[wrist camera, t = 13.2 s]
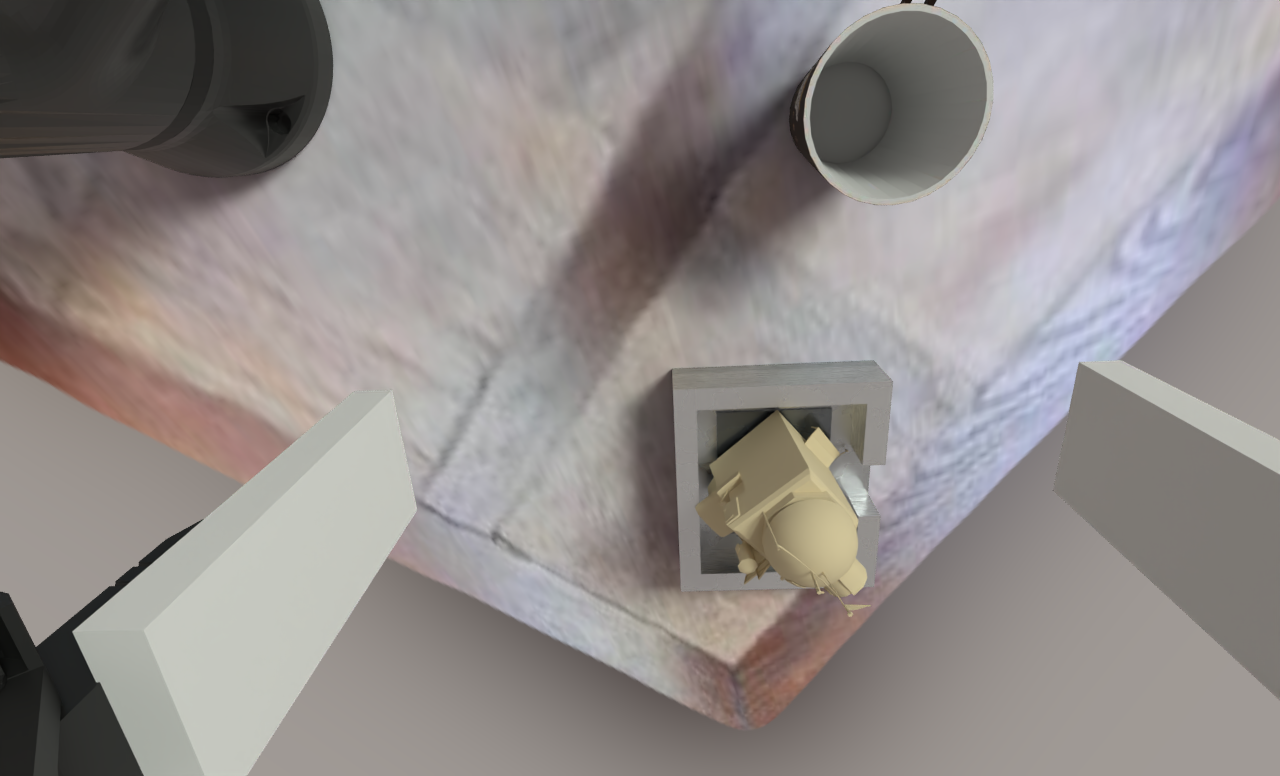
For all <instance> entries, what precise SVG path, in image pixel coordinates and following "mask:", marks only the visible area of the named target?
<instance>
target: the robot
mask: <svg viewBox="0 0 1280 776" xmlns="http://www.w3.org/2000/svg"><path fill="white" fill-rule="evenodd" d="M811 428H814V429H816V430H815V431H814V432H813V433H812V434H811V435H810V437H809V438H808V439H807V441H806V440H805V439H804V438H803V437H802V436H801V435H800V434H799V433H798V431H797V430H796V429H795V428H794V427H793V426H792V425H791V424H790V423H789V422H788V421H787V420H786V419H785V417H784V416H783V415H782V414H781V413H780V412H779V411H778V410H776V411H775V412H774V413H772V414H771V415H770V416H769V417H768V418H766V419H765V420H764V421H763V422H761V423H760V424H759V425H758V426H757V427H755V428H754V429H753V430H752V431H751V432H749V433H748V434H747V435H746V436H744V437H743V438H742V439H741V440H740V441H738V442H737V443H736V444H735V445H733V446H732V447H731V448H730V449H729V450H727V451H726V452H725V453H724V454H723V455H721V456H720V457H719V458H718V459H716V460H715V461H714V462H713V463H712V464H710V465H709V466H710V469H711V471H712V474H713V476H714V478H713V479H712V481H711V482H710V484H709V486H708V494H709V496H707V497H706V498H705V499H704V500H702V501H701V502H700V503H699V504H697V506H696V507H695V509H696V511H697V513H698V515H699V516H700V517H701V518H702V519H703V520H704V521H705V523H706V524H707V525H708V526H709V527H710V528H711V529H712V530H713V531H715V532H716V533H717V534H718V535H719V536H720V537H725V536H727V535H729V534H730V533H732V532H735V533H736V534H737V535H738V536H739V537H740V539H741V540H742V541H743V542H742V544H740V545H739V543H737V545H736V547H735V550H736V553H737V556H738V558H739V565H738V568H739V570H740V572H742V573H745V574H747V575H746V576H745V580H744V584H746V583H748V582H749V581H750V580H751V579H753V578H754V577H755V576H758V579H759V580H760V578H761V577H762V576H763V574H764V573H765V572H766V570H767V569H768V568H769V566H770V565H771V566H772V567H773V568H774V570H775V571H776V572H777V573H778V574H779V575H780V576H781V577H780V579H781V580H786V581H787V582H789V583H791V584H793V585H795V586H797V587H801V586H802V587H801V588H805V587H808V588H816V592H817V593H818V594H820V593H824V592H821V591H820V587H824V588H825V589H826V590H827V591H828V592H829V593H830V594H831V595H832V594H833V595H834V596H837V597H838V598H839V599H840V597H845V596H848V595H849V594H851V593H852V594H853V595H855V594H856V593H857V592H858V591H860V590H861V589H862V588H863V587H864V585H865V582H866V580H867V573H866V569H865V568H864V567H863V565H862V564H861V563H860V562H859V561H858V560H857V559H856V555H857V550H858V537H857V531H856V529H857V526H858V518H857V516H856V515H855V513H854V511H853V510H852V508H851V506H850V504H849V503H848V501H847V499H846V497H845V496H844V494H843V492H842V490H841V489H840V487H839V485H838V483H837V482H836V480H835V478H834V476H833V475H832V473H831V471H830V470H829V466H830V465H831V463H832V462H833V461H834V459H835V458H836V457H837V456H838V455H839V456H840V453H839V452H838V450H837V449H836V448H835V447H834V445H833V444H832V443H831V442H830V440H829V439H828V438H827V437H826V436H825V434H824V433H823V432H822V431H821V429H820V428H819V427H813V426H812V427H811ZM845 452H848V450H846V449H845ZM845 452H843V453H845ZM843 453H842V454H843ZM842 454H841V455H842ZM839 456H838V457H839ZM838 457H837V458H838ZM840 601H841V599H840ZM841 603H842V604H843V602H842V601H841ZM843 606H844V607H845V606H846V607H845V609H846V610H847V609H848V610H857V609H860V608H864V607H868V606H871V605H844V604H843ZM848 610H847V612H848V613H847V614H848V616H850V617H851V616H853V613H852V612H851V611H850V612H849V611H848Z"/></svg>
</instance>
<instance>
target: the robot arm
mask: <svg viewBox="0 0 1280 776" xmlns="http://www.w3.org/2000/svg"><path fill="white" fill-rule="evenodd" d="M332 79H333V55H332V45H331V39H330V34H329V30H328V25H327V22H326V19H325V15H324V12H323V9H322V7H321V4H320V2H319V0H0V158H11V157H28V156H44V155H60V154H77V153H93V152H109V151H124V152H127V153H129V154H132V155H135V156H137V157H140V158H143V159H145V160H148V161H151V162H153V163H156V164H159V165H161V166H164V167H166V168H169V169H172V170H175V171H178V172H182V173H186V174H190V175H196V176H204V177H233V176H243V175H251V174H256V173H261V172H264V171H268V170H270V169H273V168H275V167H277V166H279V165H281V164H283V163H285V162H286V161H288V160H290V159H291V158H292V157H294V156H295V155H296V154H297V153H298V152H300V151H301V150H302V149H303V148H304V147H305V146H306V144H307V143H308V142H309V141H310V139H311V138H312V137H313V135H314V134H315V132H316V131H317V129H318V127H319V125H320V123H321V121H322V119H323V117H324V115H325V112H326V109H327V106H328V102H329V98H330V94H331V88H332ZM1053 491H1054V492H1055V493H1056V494H1057V495H1058V496H1059V497H1060V498H1062V499H1063V500H1064V501H1065V502H1066V503H1067V504H1068V505H1069V506H1070V507H1071V508H1072V509H1073V510H1075V511H1076V512H1077V513H1078V514H1079V515H1080V516H1081V517H1082V518H1083V519H1084V520H1085V521H1086V522H1088V523H1089V524H1090V525H1091V526H1092V527H1093V528H1094V529H1095V530H1096V531H1097V532H1098V533H1099V534H1101V535H1102V536H1103V537H1104V538H1105V539H1106V540H1107V541H1108V542H1109V543H1110V544H1111V545H1112V546H1113V547H1115V548H1116V549H1117V550H1118V551H1119V552H1120V553H1121V554H1122V555H1123V556H1124V557H1126V559H1128V560H1129V561H1130V562H1131V563H1132V564H1133V565H1134V566H1135V567H1136V568H1137V569H1138V570H1139V571H1140V572H1142V573H1143V574H1144V575H1145V576H1146V577H1147V578H1148V579H1149V580H1150V581H1151V582H1152V583H1153V584H1155V585H1156V586H1157V587H1158V588H1159V589H1160V590H1161V591H1162V592H1163V593H1164V594H1165V595H1166V596H1168V597H1169V598H1170V599H1171V600H1172V601H1173V602H1174V603H1175V604H1176V605H1177V606H1178V607H1179V608H1180V609H1182V610H1183V611H1184V612H1185V613H1186V614H1187V615H1188V616H1189V617H1190V618H1191V619H1192V620H1193V621H1195V622H1196V623H1197V624H1198V625H1199V626H1200V627H1201V628H1202V629H1203V630H1205V632H1206V633H1208V634H1209V635H1210V636H1211V637H1212V638H1213V639H1214V640H1215V641H1216V642H1217V643H1218V644H1220V646H1222V647H1223V648H1224V649H1225V650H1226V651H1227V652H1228V653H1229V654H1230V655H1232V657H1233V658H1235V659H1236V660H1237V661H1238V662H1239V663H1240V664H1241V665H1242V666H1243V667H1244V668H1245V669H1246V670H1248V671H1249V672H1250V673H1251V674H1252V675H1253V676H1254V677H1255V678H1256V679H1257V680H1258V681H1259V682H1260V683H1262V684H1263V685H1264V686H1265V687H1266V688H1267V689H1268V690H1269V691H1270V692H1271V693H1272V694H1274V695H1275V696H1276V697H1277V698H1278V699H1279V700H1280V440H1278V439H1276V438H1274V437H1272V436H1270V435H1268V434H1266V433H1264V432H1262V431H1260V430H1258V429H1256V428H1254V427H1252V426H1250V425H1248V424H1246V423H1244V422H1242V421H1240V420H1238V419H1236V418H1235V417H1233V416H1230V415H1229V414H1227V413H1224V412H1223V411H1221V410H1218V409H1217V408H1215V407H1212V406H1211V405H1209V404H1207V403H1205V402H1203V401H1201V400H1199V399H1197V398H1194V397H1193V396H1191V395H1189V394H1187V393H1185V392H1183V391H1181V390H1179V389H1177V388H1175V387H1173V386H1171V385H1169V384H1167V383H1165V382H1163V381H1161V380H1159V379H1157V378H1155V377H1153V376H1151V375H1149V374H1147V373H1145V372H1143V371H1141V370H1139V369H1137V368H1135V367H1133V366H1131V365H1129V364H1127V363H1125V362H1123V361H1121V360H1120V361H1095V362H1079V364H1078V369H1077V374H1076V379H1075V384H1074V389H1073V394H1072V399H1071V404H1070V409H1069V414H1068V419H1067V424H1066V429H1065V434H1064V438H1063V444H1062V448H1061V453H1060V458H1059V463H1058V468H1057V473H1056V478H1055V483H1054V488H1053ZM416 511H417V507H416V503H415V498H414V493H413V488H412V483H411V479H410V474H409V469H408V464H407V460H406V455H405V450H404V445H403V440H402V436H401V431H400V426H399V421H398V417H397V412H396V407H395V402H394V397H393V393H392V390H377V391H354V392H353V393H352V394H350V395H349V396H348V397H347V398H346V399H345V400H343V401H342V402H341V403H340V404H339V405H337V406H336V407H335V408H334V409H333V410H332V411H330V412H329V413H328V414H327V415H326V416H325V417H323V418H322V419H321V420H320V421H319V422H318V423H316V424H315V425H314V426H313V427H312V428H310V429H309V430H308V431H307V432H306V433H305V434H303V435H302V436H301V437H300V438H299V439H298V440H296V441H295V442H294V443H293V444H292V445H291V446H289V447H288V448H287V449H286V450H285V451H284V452H282V453H281V454H280V455H279V456H278V457H276V458H275V459H274V460H273V461H272V462H271V463H269V464H268V465H267V466H266V467H265V468H264V469H262V470H261V471H260V472H259V473H258V474H257V475H255V476H254V477H253V478H252V479H251V480H250V481H248V482H247V483H246V484H245V485H244V486H242V487H241V488H240V489H239V490H238V491H237V492H235V493H234V494H233V495H232V496H231V497H230V498H228V499H227V500H226V501H225V502H224V503H223V504H221V505H220V506H219V507H218V508H217V509H216V510H214V511H213V512H212V513H211V514H210V515H209V516H207V517H206V518H205V519H203V520H201V521H199V522H197V523H195V524H193V525H192V526H190V527H188V528H186V529H184V530H182V531H181V532H179V533H177V534H175V535H173V536H171V537H170V538H168V539H166V540H165V541H164V542H162V543H161V544H160V545H159V546H158V547H156V548H155V549H154V550H153V551H152V552H150V553H149V554H148V555H147V556H146V557H144V558H143V559H142V560H141V561H140V562H139V566H138V567H132V568H131V569H130V570H129V571H127V572H126V573H125V574H124V575H123V576H122V577H120V578H119V579H118V580H117V581H116V584H115V586H109V587H108V588H107V589H106V590H105V591H103V592H102V593H101V594H100V595H99V596H97V597H96V598H95V599H94V600H92V601H91V602H90V603H89V604H88V605H86V606H85V607H84V608H83V609H82V610H80V611H79V612H78V613H77V614H76V615H74V616H73V617H72V618H71V619H69V620H68V621H67V622H66V623H65V624H63V625H62V626H61V627H60V628H59V629H57V630H56V631H55V632H54V633H53V634H51V635H50V636H49V637H48V638H47V639H45V640H44V641H43V642H42V643H41V644H39V645H38V646H37V647H35V645H34V643H33V641H32V639H31V637H30V635H29V633H28V631H27V629H26V627H25V625H24V623H23V621H22V619H21V617H20V616H19V613H18V611H17V609H16V607H15V605H14V603H13V601H12V600H11V597H10V595H9V594H8V593H3V592H0V776H247V775H248V773H249V772H250V770H251V768H252V767H253V765H254V764H255V762H256V760H257V759H258V758H259V756H260V754H261V753H262V751H263V750H264V748H265V747H266V745H267V743H268V742H269V740H270V739H271V737H272V736H273V734H274V732H275V731H276V729H277V728H278V726H279V725H280V723H281V722H282V720H283V718H284V717H285V715H286V714H287V712H288V711H289V709H290V708H291V706H292V705H293V703H294V701H295V700H296V698H297V696H298V695H299V694H300V692H301V691H302V689H303V687H304V686H305V684H306V683H307V681H308V680H309V678H310V676H311V675H312V673H313V672H314V670H315V669H316V667H317V666H318V664H319V662H320V661H321V659H322V658H323V656H324V655H325V653H326V652H327V650H328V648H329V647H330V645H331V644H332V642H333V641H334V639H335V638H336V636H337V634H338V633H339V631H340V630H341V628H342V627H343V625H344V623H345V622H346V620H347V619H348V617H349V616H350V614H351V613H352V611H353V609H354V608H355V606H356V605H357V603H358V602H359V600H360V598H361V597H362V595H363V594H364V592H365V590H366V589H367V588H368V586H369V584H370V583H371V581H372V580H373V578H374V577H375V575H376V574H377V572H378V571H379V569H380V567H381V565H382V564H383V563H384V561H385V560H386V558H387V556H388V555H389V553H390V552H391V550H392V549H393V547H394V546H395V544H396V542H397V541H398V539H399V538H400V536H401V535H402V533H403V532H404V530H405V528H406V527H407V525H408V524H409V522H410V521H411V519H412V518H413V516H414V514H415V513H416Z"/></svg>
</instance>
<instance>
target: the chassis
mask: <svg viewBox="0 0 1280 776" xmlns="http://www.w3.org/2000/svg"><path fill="white" fill-rule="evenodd" d="M672 381H673V406H674V431H675V456H676V481H677V506H678V531H679V556H680V581H681V591H722V590H763V589H803V588H801V587H802V586H801V587H797V586H795V585H793V584H791V583H789V582H787V581H786V580H781V579H780V577H781V576H780V575H779V574H778V573H777V572H776V571H775V570H774V568H773V567H772V566H771V565H770V566H769V568H768V569H767V570H766V572H765V573H764V574H763V576H762V577H761V578H760V580H759V579H758V576H755V577H754V578H753V579H751V580H750V581H749V582H748V583H746V584H744V580H745V576H746V575H747V574H745V573H742V572H740V570H739V568H738V565H739V558H738V556H737V553H736V550H735V547H736V545H737V543H739V545H740V544H742V542H743V541H742V540H741V539H740V537H739V536H738V535H737V534H736V533H735V532H732V533H730V534H729V535H727V536H725V537H720V536H719V535H718V534H717V533H716V532H715V531H713V530H712V529H711V528H710V527H709V526H708V525H707V524H706V523H705V521H704V520H703V519H702V518H701V517H700V516H699V515H698V513H697V511H696V509H695V507H696V506H697V504H699V503H700V502H701V501H702V500H704V499H705V498H706V497H707V496H709V494H708V486H709V484H710V482H711V481H712V479H713V478H714V476H713V474H712V471H711V469H710V466H709V465H710V464H712V463H713V462H714V461H715V460H716V459H718V458H719V457H720V456H721V455H723V454H724V453H725V452H726V451H727V450H729V449H730V448H731V447H732V446H733V445H735V444H736V443H737V442H738V441H740V440H741V439H742V438H743V437H744V436H746V435H747V434H748V433H749V432H751V431H752V430H753V429H754V428H755V427H757V426H758V425H759V424H760V423H761V422H763V421H764V420H765V419H766V418H768V417H769V416H770V415H771V414H772V413H774V412H775V411H776V410H778V411H779V412H780V413H781V414H782V415H783V416H784V417H785V419H786V420H787V421H788V422H789V423H790V424H791V425H792V426H793V427H794V428H795V429H796V430H797V431H798V433H799V434H800V435H801V436H802V437H803V438H804V439H805V440H806V441H807V439H808V438H809V437H810V435H811V434H812V433H813V432H814V431H815V430H816V429H814V428H811V427H812V426H813V427H819V428H820V429H821V431H822V432H823V433H824V434H825V436H826V437H827V438H828V439H829V440H830V442H831V443H832V444H833V445H834V447H835V448H836V449H837V450H838V452H839V453H840V456H839V455H838V456H839V457H838V456H837V457H838V458H837V457H836V458H835V459H834V461H833V462H832V463H831V465H830V466H829V470H830V471H831V473H832V475H833V476H834V478H835V480H836V482H837V483H838V485H839V487H840V489H841V490H842V492H843V494H844V496H845V497H846V499H847V501H848V503H849V504H850V506H851V508H852V510H853V511H854V513H855V515H856V516H857V518H858V526H857V529H856V531H857V537H858V550H857V555H856V559H857V560H858V561H859V562H860V563H861V564H862V565H863V567H864V568H865V569H866V573H867V580H866V582H865V585H864V587H874V581H875V570H876V559H877V549H878V538H879V527H880V514H879V512H878V511H877V509H876V507H875V505H874V503H873V502H872V500H871V498H870V496H869V495H868V486H869V474H870V465H885V462H886V452H887V441H888V430H889V419H890V408H891V398H892V387H893V381H892V380H891V378H890V377H889V376H888V375H887V374H886V373H885V372H884V371H883V370H882V369H881V368H880V366H879V365H878V364H877V363H876V362H875V361H851V362H827V363H803V364H779V365H755V366H730V367H706V368H682V369H672ZM845 449H846V450H848V452H845ZM843 452H845V453H843ZM842 453H843V454H842ZM841 454H842V455H841ZM805 588H808V587H805ZM820 588H824V587H820Z"/></svg>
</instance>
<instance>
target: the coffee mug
mask: <svg viewBox="0 0 1280 776" xmlns="http://www.w3.org/2000/svg"><path fill="white" fill-rule="evenodd" d="M911 1H912V0H902V1H901V3H900V4H898V5H893V6H888V7H884V8H881V9H879V10H877V11H874V12H872V13H870V14H868V15H865V16H863V17H862V18H861V19H859V20H858V21H856V22H855V23H853V24H852V25H850V26H849V27H848V28H846V29H845V30H844V31H843V32H842V33H841V34H840V35H839V36H838V37H837V38H836V39H835V40H834V41H833V42H832V43H831V45H830V46H829V47H828V48H827V50H826V51H825V52H824V54H823V55H822V56H821V57H820V59H819V60H818V61H817V62H816V64H815V65H814V66H813V67H812V69H811V70H810V71H809V72H808V74H807V75H806V76H805V77H804V79H803V80H802V82H801V83H800V85H799V86H798V88H797V90H796V92H795V94H794V96H793V100H792V103H791V107H790V116H789V122H790V131H791V134H792V137H793V141H794V142H795V144H796V146H797V148H798V150H799V151H800V152H801V153H802V154H803V156H804V157H805V158H806V159H807V160H808V161H809V162H810V163H811V164H812V165H813V166H814V167H815V169H816V170H817V171H818V172H819V173H820V174H821V175H822V176H823V177H824V178H825V179H826V180H827V181H828V182H829V184H831V185H832V186H833V187H834V188H836V189H837V190H838V191H840V192H841V193H842V194H844V195H846V196H848V197H850V198H853V199H855V200H857V201H860V202H864V203H869V204H873V205H896V204H902V203H907V202H912V201H914V200H917V199H919V198H922V197H924V196H927V195H929V194H931V193H932V192H934V191H936V190H937V189H939V188H940V187H942V186H944V185H945V184H946V183H947V182H949V181H950V180H951V179H952V178H953V177H954V176H955V175H957V174H958V173H959V172H960V171H961V169H962V168H963V167H964V166H965V165H966V163H967V162H968V161H969V160H970V159H971V157H972V156H973V154H974V153H975V151H976V149H977V147H978V146H979V144H980V142H981V140H982V139H983V136H984V133H985V131H986V128H987V125H988V123H989V120H990V114H991V109H992V104H993V76H992V71H991V66H990V61H989V59H988V56H987V54H986V51H985V49H984V47H983V44H982V43H981V41H980V40H979V38H978V37H977V36H976V34H975V33H974V32H973V30H972V29H971V28H970V27H969V26H968V25H967V24H966V23H964V22H963V21H962V20H961V19H960V18H959V17H957V16H956V15H954V14H952V13H950V12H948V11H946V10H944V9H942V8H939V7H935V6H934V4H935V2H936V0H925V2H924V4H922V3H911Z"/></svg>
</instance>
